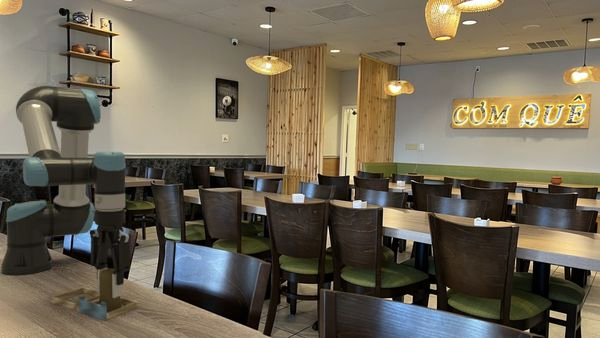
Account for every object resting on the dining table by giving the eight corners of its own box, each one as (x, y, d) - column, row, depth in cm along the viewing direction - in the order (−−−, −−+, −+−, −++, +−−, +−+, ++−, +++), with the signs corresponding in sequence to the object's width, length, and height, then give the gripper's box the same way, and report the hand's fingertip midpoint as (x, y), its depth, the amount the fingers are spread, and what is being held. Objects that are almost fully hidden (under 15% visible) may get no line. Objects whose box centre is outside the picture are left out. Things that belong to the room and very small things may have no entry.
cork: (112, 315, 112) (112, 273, 111) (92, 312, 113) (92, 272, 112) (126, 306, 117) (126, 267, 117) (107, 304, 119) (107, 265, 118)
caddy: (48, 303, 118) (48, 287, 118) (83, 291, 128) (83, 277, 128) (104, 320, 108) (104, 303, 108) (138, 306, 117) (138, 291, 117)
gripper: (75, 207, 114) (75, 292, 116) (122, 214, 106) (122, 305, 107) (99, 204, 121) (99, 284, 122) (145, 210, 113) (145, 296, 114)
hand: (110, 294), depth 115 cm, fingers closed on cork, 5 cm apart
